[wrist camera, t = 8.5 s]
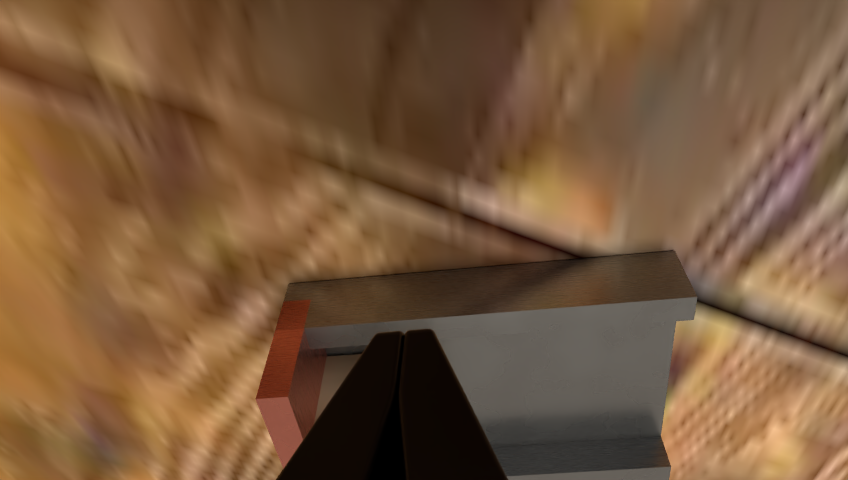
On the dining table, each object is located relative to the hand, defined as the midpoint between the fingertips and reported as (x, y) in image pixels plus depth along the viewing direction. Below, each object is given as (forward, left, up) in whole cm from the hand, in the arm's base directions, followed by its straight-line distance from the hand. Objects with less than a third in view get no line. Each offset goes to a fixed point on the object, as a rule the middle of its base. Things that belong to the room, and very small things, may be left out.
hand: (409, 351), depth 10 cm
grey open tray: (-1, +13, -12) cm, 18 cm away
